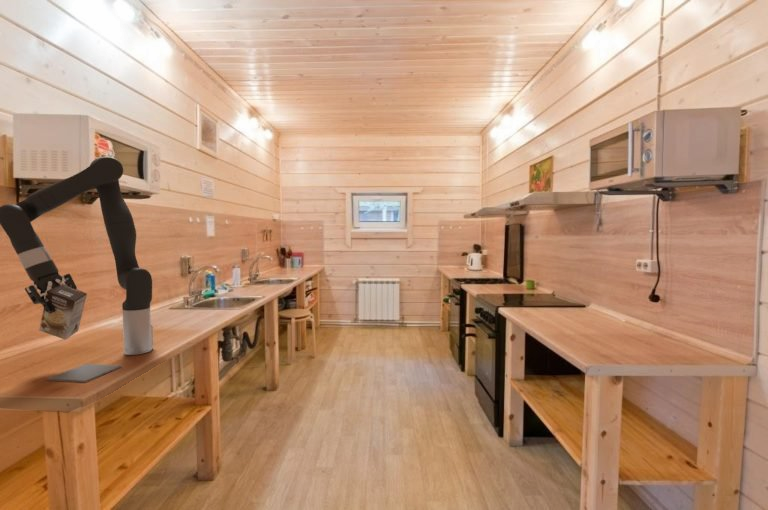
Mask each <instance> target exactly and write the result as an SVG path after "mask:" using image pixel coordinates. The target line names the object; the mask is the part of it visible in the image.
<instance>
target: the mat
mask: <svg viewBox="0 0 768 510" xmlns="http://www.w3.org/2000/svg"><path fill="white" fill-rule="evenodd" d="M121 368H122V365H114V364H113V365H111V364H96V363H94V364H93V363H84V364H82V365H79V366H77V367H74V368H71V369H68V370H65V371H63V372H60V373H57V374H55V375H52V376H49V377H46V381H50V382H51V381H53V382H68V383H70V382H71V383H84V382H86V383H87V382H90V381H93V380H95V379H97V377H98V378H99V377H102V376H104V374H105V375H107V374H109V373H111V371H112V372H113V371H114V372H115V371H116V370H119V369H121ZM106 373H107V374H106Z"/></svg>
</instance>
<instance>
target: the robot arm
mask: <svg viewBox="0 0 768 510" xmlns="http://www.w3.org/2000/svg"><path fill="white" fill-rule="evenodd" d="M123 174H124V166H123V164H122V163H121V162H120V161H119V159H117V158H114V157H112V156H100V157H97V158H96V159H94V160H92V161H91V162H90V164H89V166H87V167H86V168H85V169H83V170H81V171H79V172H77V173H76V174H73V175H71V176H69V177H66V178H64V179H62V180H59V181H57V182H54V183H52V184H49V185H47V186H45V187H43V188H40V189H38V190H36V191H34V192H32V193H31V194H29V195H27V197H26V198H25V199H23V200H21V201H19V202H18V203H16V204H14V203H13V204H11V203H7V204H3V205H1V206H0V226H1V227H2V229H3V231H4V233H5V234H6V235H7V237H8V238H9V240H10V244H11V245H12V248H13V250H14V252H15V253H16V255H17V256H18V259H19V262H20V264H21V265H22V267H23V269H24V270H25V272H26V274H27V276H28V278H29V279H30V281H32V282H33V285H32V284H31V285H29V286H26V287H25V288H24V290H25V292H26V294H27V295H28V297H29V299H30V300H31V302H32V303H33V304H34V305H39V304H40V305H42V307H43V309H44V308H45V310H46V312H47V313H49V314H51V313H53V312H55V309H54V307H53V305H52V303H51V302H49V297H48V296H47V291H48V290H50V289H52V288H53V287H55V286H57V285H62V284H64V285H66V286H69V287H72V288H74V289H77V290H78V288H77V285H76V284H75V281H74V280H73V279H74V278H73V277H72V275H71V274H70V273H66V274H64V275H60V273H59V269H58V267H57V265H56V263H55V262H54V259H53V258H52V257H51V255H50V253H49V251H48V250H47V248H45V245H44V244H43V242H42V239H40V237H39V236H38V234H37V233H36V231H35V229H34V227H33V225H32V222H33V221H35V220H36V219H38V218H39V217H41V216H42V215H44V214H47V213H48V212H51V211H53V210H55V209H56V208H58V207H61V206H62V205H64V204H66V203H68V202H70V201H71V200H73V199H75V198H76V197H79V196H81V195H82V194H84V193H86V192H88V191H90V190H91V189H94V188H95V189H96V192H97V195H98V197H99V203H100V209H101V213H102V218H103V222H104V227H105V230H106V234H107V238H108V240H109V244H110V248H111V251H112V255H113V258H114V261H115V269H116V277H117V282H118V284H119V286H120V287H121V288H122V289H123V290H125V292H126V293H125V300H124V301H122V305H121V307H122V309H121V310H122V331H123V332H122V333H123V334H122V336H123V354H124V355H127V356H137V355H142V354H146V353H149V352H151V351H152V350H153V349H154V332H153V328H154V327H153V325H151V324H152V322H151V321H152V320H151V319H152V318H151V303H152V299H153V278H152V275H151V272H149V270H147V269H146V268H142V267H140V266H139V263H138V260H137V256H136V242H137V229H136V225H135V221H134V218H133V216H132V213H131V210H130V209H129V206H128V205H127V203H126V201H125V199H124V196H123V194H122V191H121V187H120V179H121V178H122V176H123ZM38 290H39V292H38Z"/></svg>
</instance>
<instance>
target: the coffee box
mask: <svg viewBox="0 0 768 510" xmlns="http://www.w3.org/2000/svg"><path fill="white" fill-rule="evenodd" d="M64 284H65V283H64ZM64 284H62V285H57V286H55V287H53V288H52V289H50V290H48V291H47V296H48V297H49V302H51V303H52V305H53V307H54V309H55V312H53V313H51V314H49V313H47V312H46V310H45V308H44V307H43V310H42V315H41V320H40V324H39V329H38V330H39V331H40V332H42V333H45V334H47V335H51V336H54V337H57V338H59V339H62V340H68V339H69V338H70V337H71V336H73V335H75V334H76V333H77V332H79V329H80V325H81V321H82V316H83V312H84V307H85V304H86V303H85V302H86V298H87V295H88V293H86V292H85V291H83V290H79V289H78V288H77V289H74V288H72V287H69V286H66V285H64Z"/></svg>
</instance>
